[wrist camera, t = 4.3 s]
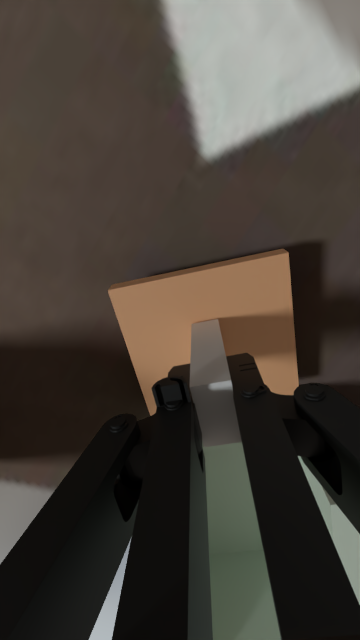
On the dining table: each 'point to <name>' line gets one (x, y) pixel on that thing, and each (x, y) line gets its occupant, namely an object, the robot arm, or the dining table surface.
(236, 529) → the crate
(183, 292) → the flat tan square board
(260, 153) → the dining table surface
